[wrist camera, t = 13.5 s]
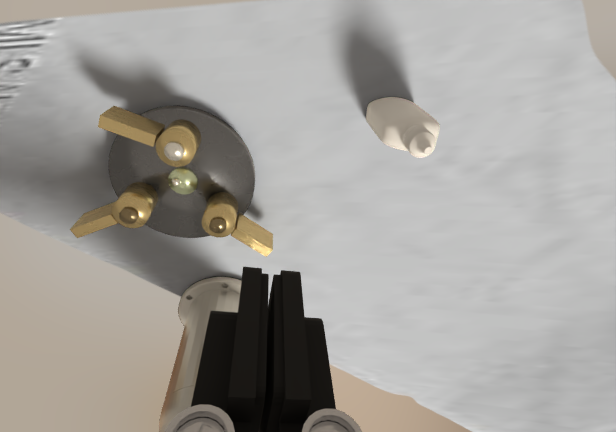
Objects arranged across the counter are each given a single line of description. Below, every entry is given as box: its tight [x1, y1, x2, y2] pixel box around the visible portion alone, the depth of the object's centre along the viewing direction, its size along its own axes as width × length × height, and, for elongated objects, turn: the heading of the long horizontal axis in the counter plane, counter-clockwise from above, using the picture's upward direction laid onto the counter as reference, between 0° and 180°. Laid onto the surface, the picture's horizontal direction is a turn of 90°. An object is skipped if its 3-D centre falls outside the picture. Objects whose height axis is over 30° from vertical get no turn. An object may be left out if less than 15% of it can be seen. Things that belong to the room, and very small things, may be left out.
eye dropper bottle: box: [366, 97, 440, 158], centre depth 36 cm, size 4×6×12 cm
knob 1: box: [98, 106, 201, 167], centre depth 36 cm, size 9×4×5 cm, turn 66°
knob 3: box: [202, 192, 273, 257], centre depth 42 cm, size 9×4×5 cm, turn 49°
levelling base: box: [109, 106, 255, 238], centre depth 42 cm, size 16×16×2 cm
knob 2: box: [70, 182, 158, 238], centre depth 40 cm, size 9×4×5 cm, turn 109°
